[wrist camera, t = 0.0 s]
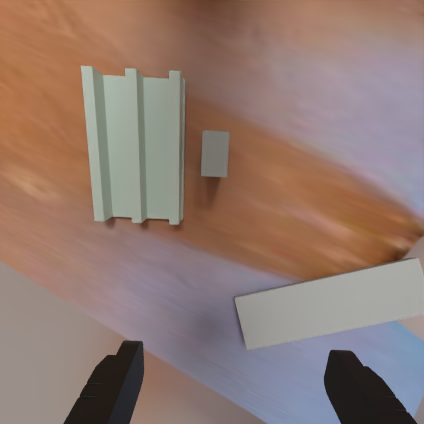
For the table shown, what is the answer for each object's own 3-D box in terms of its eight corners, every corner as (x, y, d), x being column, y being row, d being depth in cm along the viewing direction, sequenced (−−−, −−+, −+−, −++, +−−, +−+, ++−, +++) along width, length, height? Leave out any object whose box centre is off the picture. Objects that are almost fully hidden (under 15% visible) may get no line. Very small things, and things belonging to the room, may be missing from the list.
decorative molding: (233, 289, 45) (244, 336, 44) (234, 298, 40) (247, 350, 39) (397, 253, 42) (410, 301, 42) (418, 257, 38) (434, 312, 37)
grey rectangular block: (206, 140, 35) (202, 130, 23) (224, 141, 35) (229, 131, 23) (204, 171, 36) (200, 176, 24) (222, 172, 36) (226, 177, 24)
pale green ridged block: (95, 77, 33) (79, 65, 28) (185, 82, 33) (181, 71, 29) (106, 214, 38) (93, 220, 34) (183, 218, 38) (180, 225, 34)
